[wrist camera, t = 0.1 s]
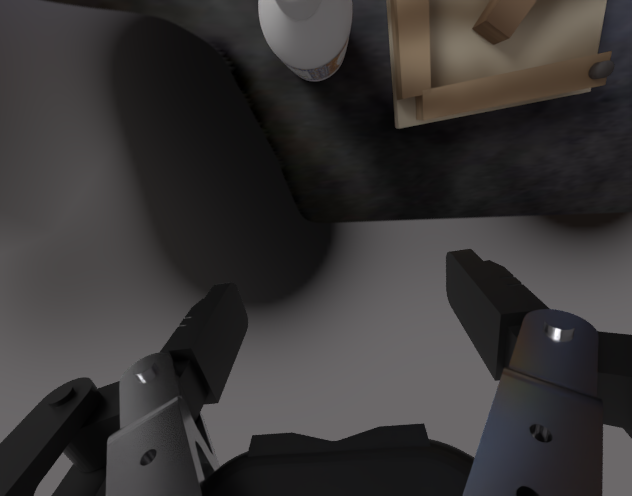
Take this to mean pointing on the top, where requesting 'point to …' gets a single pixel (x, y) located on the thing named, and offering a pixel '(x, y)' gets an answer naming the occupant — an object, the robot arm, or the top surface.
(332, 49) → the bath foam
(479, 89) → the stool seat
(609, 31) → the top surface
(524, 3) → the brown rectangular block
